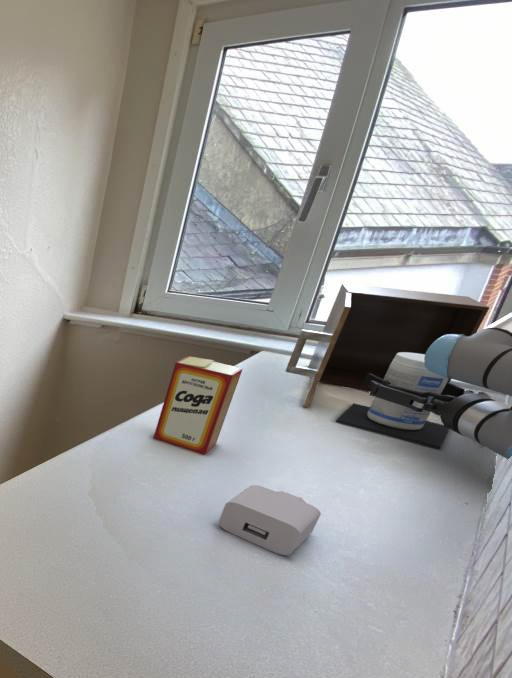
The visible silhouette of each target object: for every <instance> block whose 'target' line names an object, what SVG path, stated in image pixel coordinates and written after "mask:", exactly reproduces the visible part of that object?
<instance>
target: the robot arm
mask: <svg viewBox="0 0 512 678" xmlns="http://www.w3.org/2000/svg"><path fill="white" fill-rule="evenodd" d="M424 360H425V362H424V365H425V367H426V369H427V370H429V371H431V372H433V373H436V374H438V375H441V376H444V377H446V378H448V379H451V380H454V381H456V382H457V381H458V382H461V383H465V384H468V385H472V386H476V387H479V388H482V389H486V390H490V391H492V392H496V393H500V394H502V395H507V396H510V397H512V312H509V314H506V315H505V316H503V317H501V318H500V319H498V320H496V321H495V322H493V323H491V324H489V325H487V326H486V327H484V328H482V329H480V330H479V331H478V330H477V332H476V333H475V334H473V335H471V336H468V337H467V336H465V335H463V334H462V335H457V334H449V335H444V336H442V337H440V338H438V339H437V340H436V341H434V342H433V343H432V344H431V346H430V347H429V348H428V350H427V352H426V354H425V357H424ZM388 381H389V380H384V379H382V378H380V377H378V376H376V375H373V374H371V373H367V375H366V377H365V379H364V381H363V383H362V385H363V386H365V387H367V388H369V389H371V392H369V396H371V397H374V398H375V397H377V398H380V399H383V400H387V401H390V402H393V403H396V404H399V405H402V406H405V407H408V408H410V409H412V410H414V411H416V412H422V411H423V410H426V411H430V412H431V413H432V414H433V415H436V416H439V417H440V420H441V423H442V425H444V426H446V427H447V428H449V430H450V431H452V432H455V433H457V434H458V435H461V436H463V437H465V438H466V439H469V440H471V441H473V442H474V443H477V446H478V447H479V448H487V449H488V450H490V451H492V452H494V453H496V454H497V455H499V456H501V457H503V458H504V459H506V460H508V459H509V458H510V457H511V456H512V405H509V404H506V403H504V402H501V401H498V400H496V399H493V398H492V397H490V396H489V394H488V393H486V392H484V391H479V392H478V393H475V391H473V390H471V389H469V390H468V389H467V390H466V389H465V388H463V387H461V386H458V385H456V384H454V383H451V382H450V383H449V382H447V383H446V385H445V387H444V389H443V391H442V392H441V394H437V393H433V392H426V393H422V392H418V391H414V390H410V389H406V388H402V387H398V386H394V385H390V384H391V383H390V382H388ZM429 396H432V397H433V398H432V400H431V401H430V403H429V402H428V398H429Z"/></svg>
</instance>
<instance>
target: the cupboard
mask: <svg viewBox="0 0 512 678" xmlns="http://www.w3.org/2000/svg"><path fill="white" fill-rule="evenodd" d="M346 293H351V308H350V310H349V313H348V315H347V317H346V320H345V322H344V324H343V327H342V329H341V331H340V334H339V336H338V339H337V341H336V343H335V346H334V348H333V350H332V353H331V355H330V357H329V360H328V362H327V364H326V367H325V369H324V372H323V374H322V376H321V379H320V381H319V383H318V384H322V385H323V384H324V385H329V386H335V387H341V388H346V389H351V390H358V391H362V392H369V393H370V392H371V389H369V388H367V387H365V386H363V385H362V383H363V381H364V379H365V377H366V375H367V373H371V374H373V375H376V376H378V377H380V378H382V379H384V377H385V375H386V373H387V371H388V369H389V367H390V365H391V363H392V361H393V359H394V358H395V356H396V354H397V353H400V352H408V353H418V354H426V352H427V350H428V348H429V347H430V346H431V344H432V343H433V342H434V341H436V340H437V339H438V338H440V337H442V336H444V335H449V334H457V335H462V334H463V335H465V336H467V337H468V336H471V335H473V334H475V333H477V332H478V330H479V329H480V326H481V325H482V323H483V321H484V319H485V317H486V315H487V313H488V311H489V310H490V308H491V307H490V306H487V305H486V304H484V303H482V302H480V301H478V300H476V299H474V298H472V297H470V296H467V295H458V294H457V295H456V294H449V293H439V292H438V293H437V292H428V291H417V290H407V289H401V288H400V289H399V288H389V287H381V286H371V285H370V286H369V285H360V284H351V283H341V285H340V288H339V290H338V293H337V294H336V297H335V300H334V302H333V305H332V307H331V309H330V313H329V314H328V317H327V320H326V322H325V325H324V327H323V329H322V331H321V332H322V333H330V331H331V328H332V326H333V324H334V321H335V319H336V316H337V314H338V312H339V309H340V307H341V304H342V302H343V299H344V297H345V295H346ZM317 341H318V342H317V344H316V347H315V349H314V351H313V354H312V356H311V359H310V361H309V364H308V368H311V369H315V367H316V364H317V362H318V360H319V357H320V355H321V352H322V350H323V348H324V345H325V343H326V342H325V341H319V340H317ZM451 381H452V379H448V381H447V382H449V383H451Z"/></svg>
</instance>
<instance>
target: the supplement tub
mask: <svg viewBox="0 0 512 678" xmlns="http://www.w3.org/2000/svg"><path fill="white" fill-rule="evenodd" d="M424 357H425V354H418V353H408V352H400V353H397V354H396V356H395V358H394V359H393V361H392V363H391V365H390V367H389V369H388V371H387V373H386V375H385V377H384V380H389V381H388V382H390V383H391V384H390V385H394V386H398V387H402V388H406V389H410V390H414V391H418V392H422V393H426V392H433V393H437V394H441V392H442V391H443V389H444V387H445V385H446V383H447V381H448V378H446V377H444V376H441V375H438V374H436V373H433V372H431V371H429V370H427V369H426V367H425V365H424V362H425V360H424ZM432 398H433V397H432V396H429V398H428V402H429V403H430V401H431V400H432ZM369 407H370V408H369V411H368V413H367V416H368V417H369V418H370V419H371V420H373V421H375V422H377V423H379V424H382V425H386V426H389V427H393V428H398V429H404V430H418V429H420V428H422V427H423V426H424V424H425V422H426V421H428V418H429V416H430V414H431V413H432V412H430V411H426V410H423V411H422V412H416V411H414V410H412V409H410V408H408V407H405V406H402V405H399V404H396V403H393V402H390V401H387V400H383V399H380V398H377V397H374V398H373V400H372V402H371V404H370V406H369Z"/></svg>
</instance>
